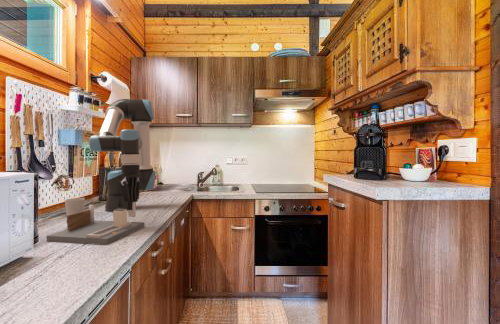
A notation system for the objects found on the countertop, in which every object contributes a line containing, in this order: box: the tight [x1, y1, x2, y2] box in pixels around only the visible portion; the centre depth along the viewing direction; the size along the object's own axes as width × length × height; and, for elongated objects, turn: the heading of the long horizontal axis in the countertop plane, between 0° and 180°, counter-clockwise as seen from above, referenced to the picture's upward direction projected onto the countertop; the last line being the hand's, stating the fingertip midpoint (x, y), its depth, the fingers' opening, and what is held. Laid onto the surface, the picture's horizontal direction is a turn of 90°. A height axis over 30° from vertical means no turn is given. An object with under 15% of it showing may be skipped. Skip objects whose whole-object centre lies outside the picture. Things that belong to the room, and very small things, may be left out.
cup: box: [64, 197, 86, 216], centre depth 129 cm, size 8×8×12 cm
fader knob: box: [112, 208, 128, 228], centre depth 117 cm, size 4×4×7 cm
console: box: [46, 204, 145, 245], centre depth 115 cm, size 24×26×10 cm
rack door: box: [66, 209, 91, 230], centre depth 118 cm, size 2×12×6 cm, turn 170°
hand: (132, 216), depth 125 cm, fingers closed
